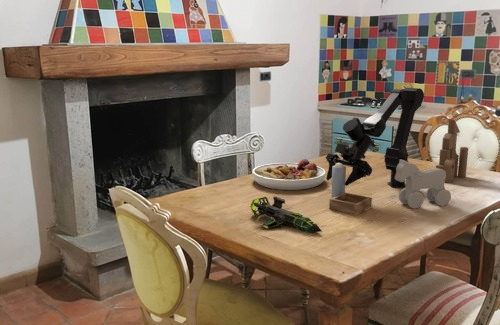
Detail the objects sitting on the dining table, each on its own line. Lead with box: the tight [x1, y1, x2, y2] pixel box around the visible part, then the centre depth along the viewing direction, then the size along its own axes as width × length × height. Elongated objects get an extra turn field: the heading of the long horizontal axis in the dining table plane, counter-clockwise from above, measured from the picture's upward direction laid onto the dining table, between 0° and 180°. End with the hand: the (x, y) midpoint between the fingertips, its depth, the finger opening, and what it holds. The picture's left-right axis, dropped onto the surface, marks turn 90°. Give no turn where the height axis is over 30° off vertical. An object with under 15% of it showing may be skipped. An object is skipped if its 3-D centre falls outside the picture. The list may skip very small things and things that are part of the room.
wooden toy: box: [435, 118, 469, 184], centre depth 211 cm, size 16×7×25 cm, turn 133°
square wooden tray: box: [328, 192, 373, 216], centre depth 174 cm, size 10×10×4 cm
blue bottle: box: [330, 163, 347, 199], centre depth 182 cm, size 5×5×14 cm
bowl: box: [251, 158, 326, 191], centre depth 209 cm, size 30×30×8 cm
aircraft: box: [250, 196, 323, 233], centre depth 159 cm, size 17×28×6 cm, turn 45°
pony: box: [395, 159, 452, 210], centre depth 176 cm, size 20×10×17 cm, turn 105°
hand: (336, 182), depth 182 cm, fingers open, 9 cm apart
